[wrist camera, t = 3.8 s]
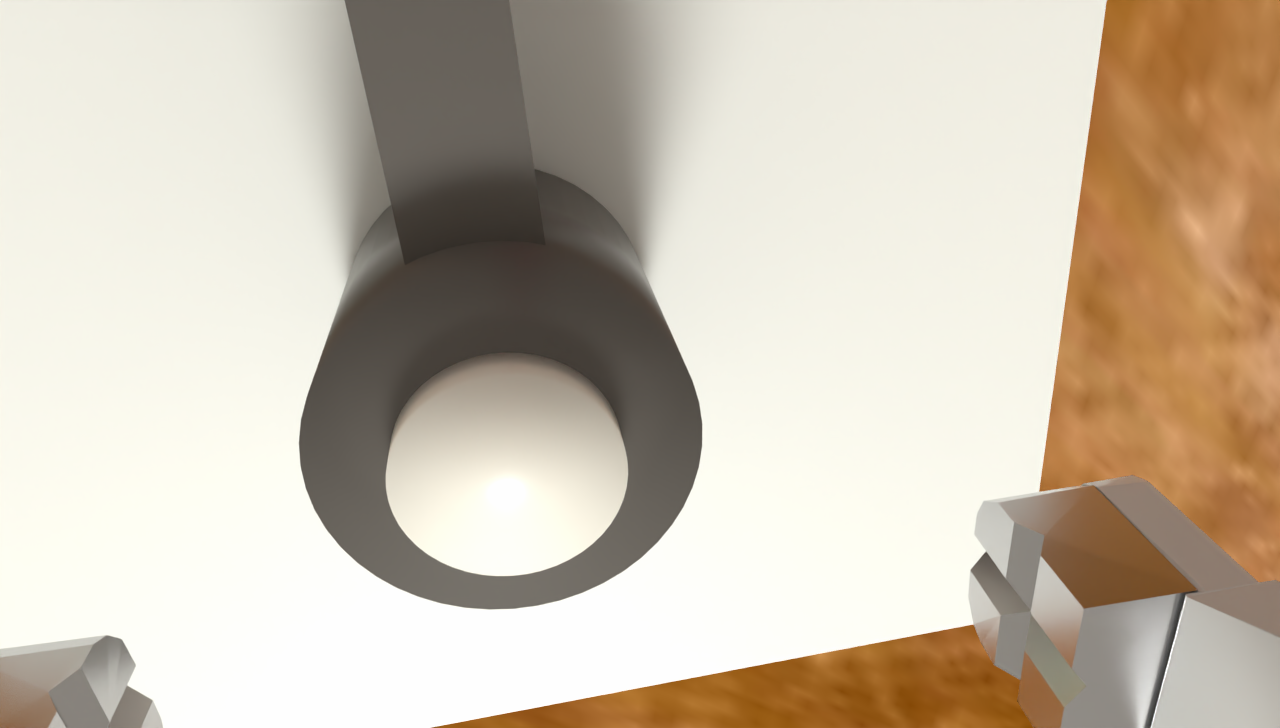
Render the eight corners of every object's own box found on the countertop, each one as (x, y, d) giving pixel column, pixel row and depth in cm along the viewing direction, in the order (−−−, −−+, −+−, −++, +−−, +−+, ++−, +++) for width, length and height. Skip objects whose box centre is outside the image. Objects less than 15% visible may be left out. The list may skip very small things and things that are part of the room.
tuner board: (1126, -452, 14) (1181, -482, 12) (1001, 587, 23) (1026, 620, 22) (-516, -333, 11) (-617, -357, 10) (86, 758, 21) (66, 804, 20)
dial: (657, 412, 18) (722, 602, 13) (384, 456, 17) (348, 670, 12) (571, -465, 12) (635, -722, 7) (146, -438, 11) (-105, -692, 6)
